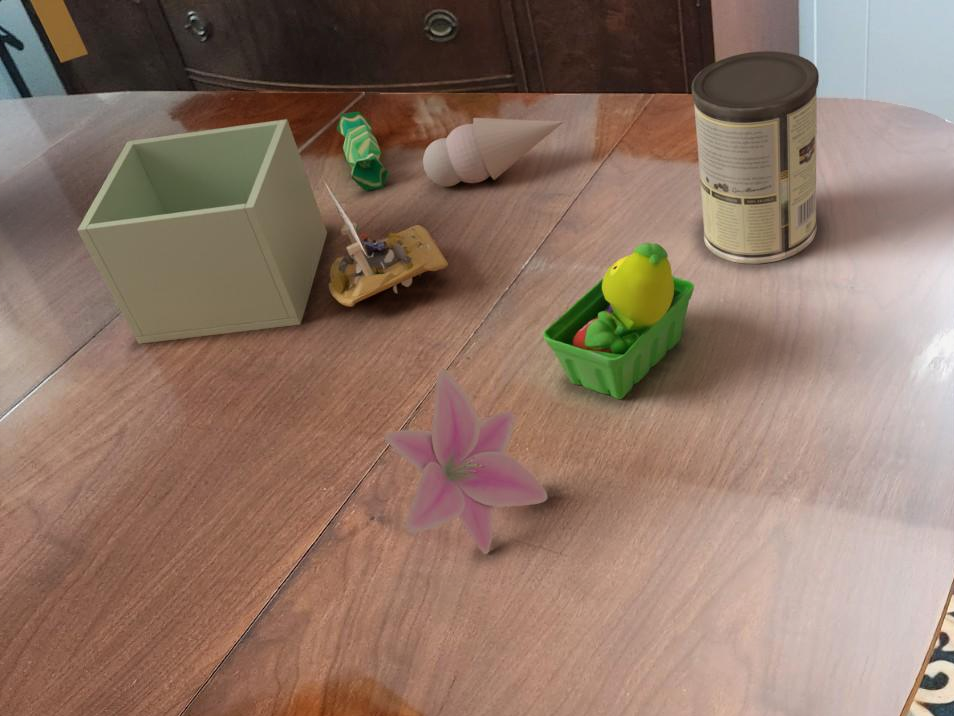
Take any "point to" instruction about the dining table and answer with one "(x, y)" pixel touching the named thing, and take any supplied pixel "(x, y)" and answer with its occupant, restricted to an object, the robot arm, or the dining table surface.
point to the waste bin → (207, 232)
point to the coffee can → (757, 155)
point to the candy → (362, 151)
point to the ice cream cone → (482, 149)
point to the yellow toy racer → (380, 261)
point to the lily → (463, 466)
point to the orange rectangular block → (60, 29)
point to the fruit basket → (622, 323)
